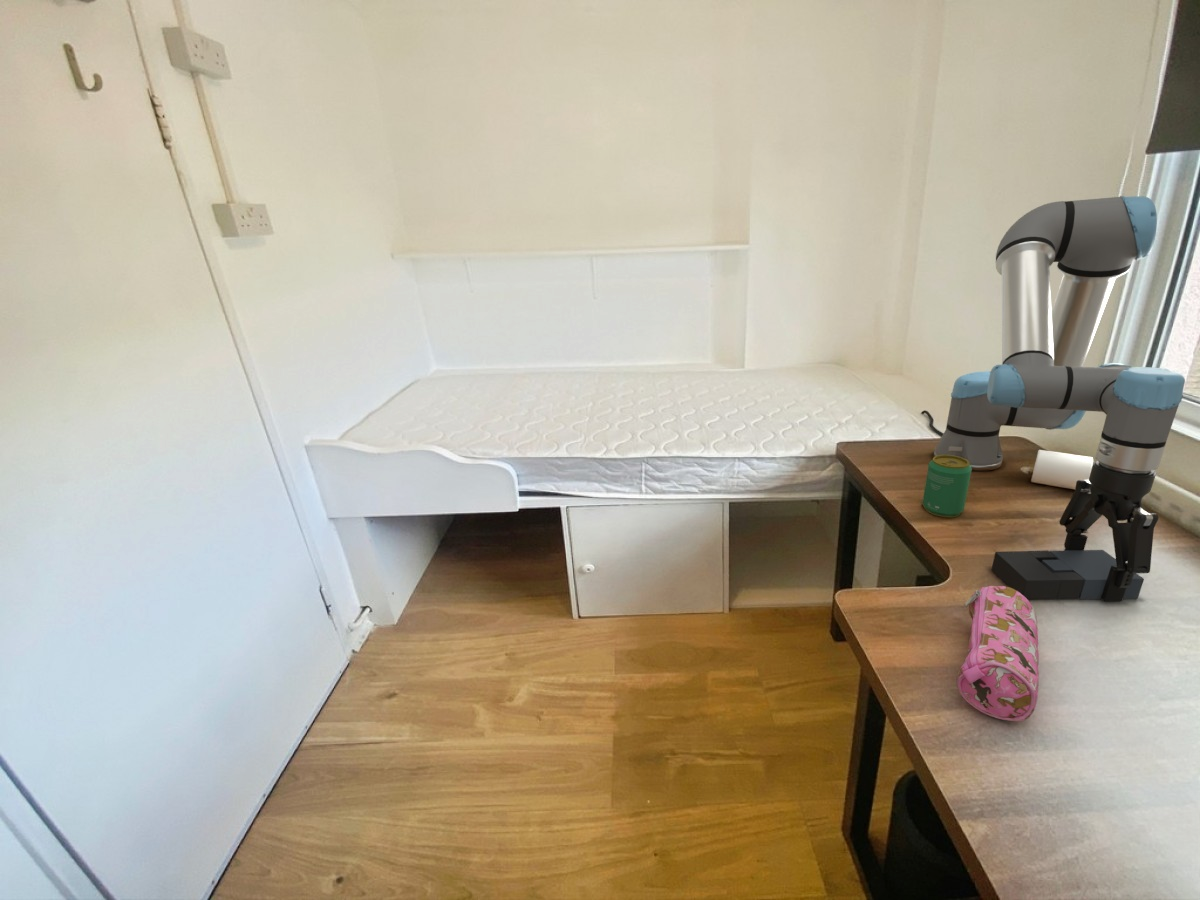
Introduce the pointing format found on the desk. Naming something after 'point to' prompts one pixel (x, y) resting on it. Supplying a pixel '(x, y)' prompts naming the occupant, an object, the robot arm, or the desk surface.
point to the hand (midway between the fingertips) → (1089, 582)
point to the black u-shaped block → (1035, 576)
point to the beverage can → (946, 485)
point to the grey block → (1091, 571)
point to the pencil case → (1001, 655)
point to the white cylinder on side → (1061, 469)
